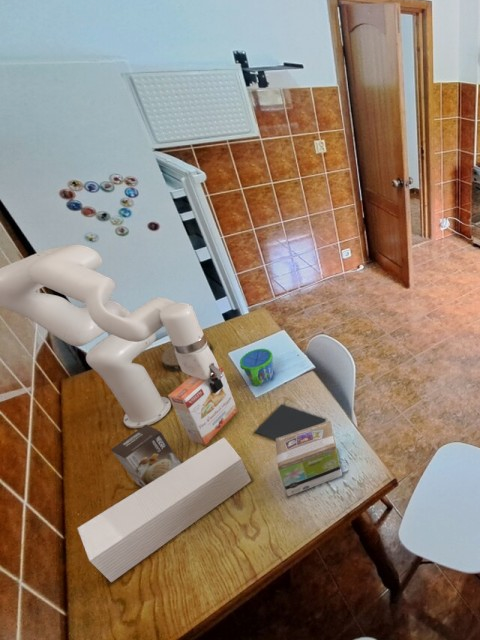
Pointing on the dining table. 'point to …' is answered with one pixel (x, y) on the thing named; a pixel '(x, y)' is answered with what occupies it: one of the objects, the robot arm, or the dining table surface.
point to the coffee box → (146, 455)
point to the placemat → (287, 422)
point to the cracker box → (203, 407)
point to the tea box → (307, 458)
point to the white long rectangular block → (162, 509)
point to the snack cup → (258, 366)
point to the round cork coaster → (172, 358)
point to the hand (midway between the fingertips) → (209, 386)
